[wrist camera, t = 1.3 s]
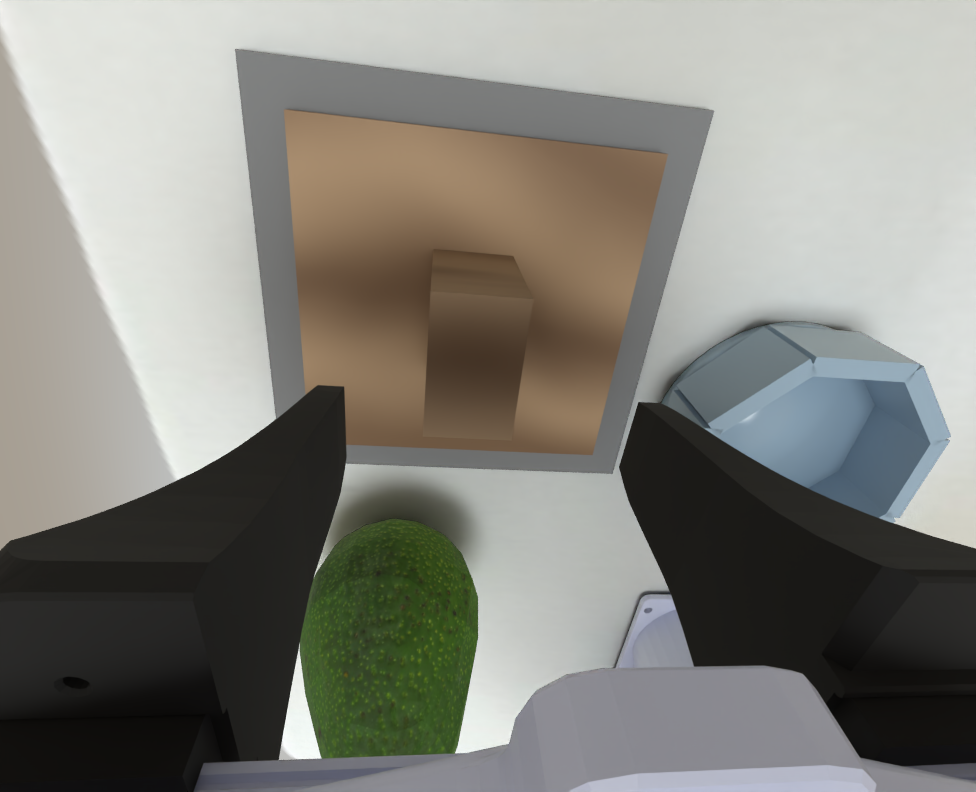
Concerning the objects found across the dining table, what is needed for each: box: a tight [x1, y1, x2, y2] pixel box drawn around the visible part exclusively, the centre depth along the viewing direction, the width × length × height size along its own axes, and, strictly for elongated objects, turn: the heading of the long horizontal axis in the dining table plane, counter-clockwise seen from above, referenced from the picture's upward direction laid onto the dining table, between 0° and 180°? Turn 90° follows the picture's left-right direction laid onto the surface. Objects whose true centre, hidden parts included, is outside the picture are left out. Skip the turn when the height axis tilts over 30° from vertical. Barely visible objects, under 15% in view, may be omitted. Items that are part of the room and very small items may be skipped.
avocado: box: [300, 519, 478, 759], centre depth 22 cm, size 8×8×12 cm
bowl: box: [661, 322, 951, 523], centre depth 24 cm, size 11×11×4 cm
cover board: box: [284, 109, 668, 455], centre depth 18 cm, size 13×13×6 cm
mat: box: [235, 49, 714, 474], centre depth 21 cm, size 16×16×1 cm
